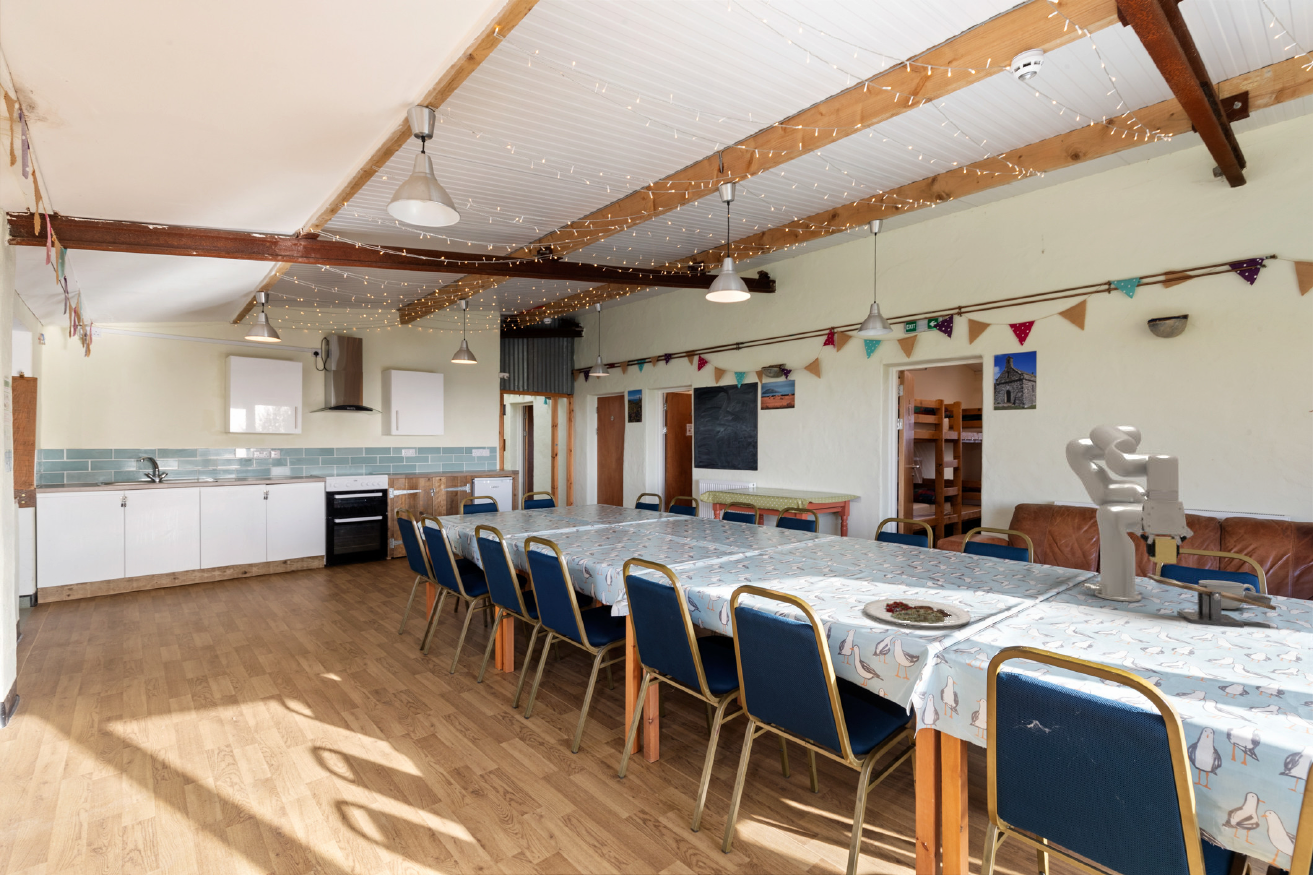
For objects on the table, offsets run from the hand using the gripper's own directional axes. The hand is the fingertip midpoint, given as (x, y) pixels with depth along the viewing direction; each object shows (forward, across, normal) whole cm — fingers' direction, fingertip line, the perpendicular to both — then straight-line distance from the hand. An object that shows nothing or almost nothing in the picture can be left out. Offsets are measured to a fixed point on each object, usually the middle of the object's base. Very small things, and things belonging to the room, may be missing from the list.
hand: (1162, 556), depth 192 cm
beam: (+10, +11, 0) cm, 15 cm away
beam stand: (+18, +11, 0) cm, 21 cm away
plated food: (+19, -69, -23) cm, 75 cm away
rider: (+1, 0, 0) cm, 1 cm away
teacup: (+18, +23, +20) cm, 36 cm away
